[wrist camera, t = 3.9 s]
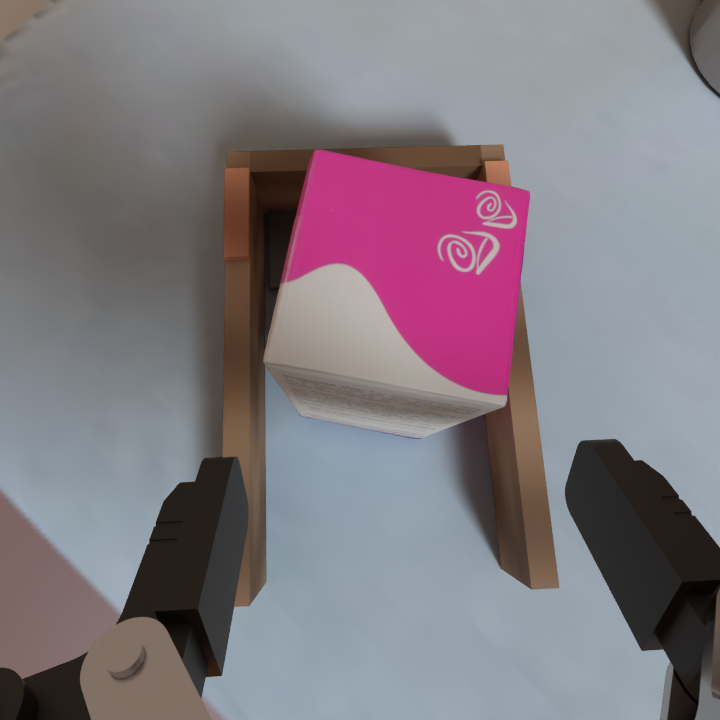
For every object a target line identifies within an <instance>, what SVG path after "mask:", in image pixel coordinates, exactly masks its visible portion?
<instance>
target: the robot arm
mask: <svg viewBox="0 0 720 720" xmlns="http://www.w3.org/2000/svg"><path fill="white" fill-rule="evenodd" d="M690 45H691V50H692V54H693V58H694V60H695V62H696V64H697V66H698V68H699V70H700V72H701V73H702V75H703V76H704V77H705V79H706V80H707V81H708V83H709V84H710V85H711V86H712V87H713V88H714V89H715V90H716V91H717V92H718V93H719V94H720V0H703V1H702V3H701V5H700V6H699V8H698V9H697V11H696V12H695V14H694V17H693V20H692V23H691V26H690ZM565 497H566V503H567V507H568V509H569V512H570V514H571V516H572V518H573V520H574V522H575V523H576V525H577V527H578V529H579V531H580V533H581V535H582V537H583V539H584V541H585V543H586V545H587V546H588V548H589V550H590V552H591V554H592V556H593V558H594V560H595V562H596V564H597V566H598V568H599V570H600V571H601V573H602V575H603V577H604V579H605V581H606V583H607V585H608V587H609V589H610V591H611V593H612V595H613V596H614V598H615V600H616V602H617V604H618V606H619V608H620V610H621V612H622V614H623V616H624V618H625V619H626V621H627V623H628V625H629V627H630V629H631V631H632V633H633V635H634V637H635V639H636V641H637V643H638V644H639V646H640V648H641V650H642V651H646V650H662V649H664V651H665V653H666V654H667V656H668V658H669V660H670V664H669V665H668V667H667V671H666V678H665V685H664V693H663V700H662V707H661V715H660V720H720V547H719V546H718V545H717V544H716V542H715V541H714V540H713V539H712V537H711V536H710V535H709V533H708V532H707V531H706V530H705V528H704V527H703V526H702V525H701V523H700V522H699V521H698V519H697V518H696V517H695V516H692V514H691V511H690V509H689V508H688V507H687V505H686V504H685V503H684V502H683V500H680V499H679V495H678V494H677V493H676V491H675V490H674V489H673V488H672V486H671V485H670V484H669V483H668V481H667V480H666V479H665V478H664V476H662V475H661V474H660V473H658V472H657V471H656V470H654V469H653V468H652V467H650V466H649V465H648V464H646V463H645V462H643V461H642V460H638V461H634V460H633V458H632V457H631V456H630V454H629V453H628V452H627V450H626V449H625V448H624V446H623V445H622V444H621V443H620V442H619V441H618V440H616V439H605V440H584V441H581V442H580V443H579V445H578V447H577V450H576V453H575V456H574V460H573V463H572V466H571V469H570V473H569V476H568V479H567V482H566V487H565ZM248 519H249V508H248V500H247V495H246V490H245V485H244V481H243V476H242V471H241V466H240V462H239V459H238V457H217V458H204V459H203V460H202V462H201V465H200V468H199V471H198V474H197V478H196V481H195V482H183V483H179V484H178V485H177V487H176V488H175V489H174V490H173V491H172V492H171V493H170V495H169V496H168V497H167V498H166V499H165V500H164V502H163V505H162V507H161V510H160V513H159V515H158V518H157V521H156V527H154V529H153V532H152V534H151V537H150V540H149V541H150V543H149V544H148V545H147V548H146V550H145V553H144V556H143V558H142V561H141V564H140V566H139V569H138V572H137V574H136V577H135V580H134V583H133V585H132V588H131V591H130V593H129V596H128V599H127V601H126V604H125V607H124V609H123V612H122V614H121V616H120V618H119V620H118V622H117V624H116V625H115V626H113V627H112V628H110V629H109V630H108V631H106V632H105V633H104V634H103V635H102V636H101V637H100V638H99V639H98V640H97V641H96V642H95V643H94V644H93V646H92V648H91V649H90V650H89V651H88V652H87V653H85V654H83V655H82V656H80V657H78V658H76V659H73V660H71V661H69V662H66V663H63V664H61V665H58V666H56V667H53V668H50V669H48V670H45V671H42V672H40V673H37V674H35V675H32V676H29V677H27V678H24V679H22V678H21V677H20V676H19V675H18V674H17V673H16V672H15V671H13V670H11V669H7V668H0V720H211V718H210V716H209V714H208V712H207V710H206V708H205V706H204V704H203V702H202V700H201V697H202V692H203V687H204V682H205V677H212V676H222V672H223V667H224V661H225V655H226V649H227V644H228V638H229V632H230V626H231V621H232V615H233V609H234V604H235V598H236V592H237V586H238V581H239V575H240V569H241V563H242V558H243V552H244V546H245V541H246V535H247V529H248Z"/></svg>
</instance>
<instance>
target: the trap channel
mask: <svg viewBox="0 0 720 720" xmlns="http://www.w3.org/2000/svg"><path fill="white" fill-rule="evenodd" d="M315 150H316V149H315ZM320 150H325V151H330V152H335V153H340V154H345V155H349V156H354V157H359V158H364V159H368V160H373V161H378V162H383V163H388V164H392V165H397V166H402V167H407V168H412V169H416V170H420V171H426V172H431V173H436V174H442V175H447V176H452V177H458V178H465V179H472V180H478V181H483V182H489V183H494V184H500V185H505V186H510V187H511V180H510V172H509V164H508V161H505V155H504V147H503V145H468V146H430V147H391V148H353V149H320ZM313 152H314V150H277V151H238V152H227V168H225V179H224V248H223V257H224V259H225V316H224V390H223V457H238V459H239V462H240V466H241V471H242V476H243V481H244V485H245V490H246V495H247V500H248V508H249V519H248V529H247V535H246V541H245V546H244V552H243V558H242V563H241V569H240V575H239V581H238V586H237V592H236V598H235V604H234V607H238V606H250V604H251V603H252V601H253V600H254V599H255V597H256V596H257V594H258V593H259V591H260V590H261V589H262V587H263V586H264V584H265V583H266V457H265V364H264V362H263V359H264V353H265V266H264V214H269V276H270V289H271V290H279V288H280V283H281V278H282V274H283V269H284V265H285V261H286V256H287V252H288V248H289V243H290V239H291V234H292V230H293V225H294V221H295V218H296V214H297V210H298V205H299V201H300V197H301V193H302V189H303V185H304V181H305V177H306V173H307V170H308V166H309V162H310V159H311V157H312V154H313ZM485 419H486V428H487V438H488V448H489V457H490V467H491V477H492V486H493V496H494V506H495V515H496V525H497V535H498V544H499V554H500V564H501V569H502V570H504V571H505V572H507V573H508V574H510V575H511V576H513V577H514V578H516V579H517V580H518V581H520V582H521V583H523V584H524V585H526V586H527V587H529V588H530V589H547V588H559V582H558V574H557V566H556V558H555V550H554V542H553V534H552V527H551V519H550V511H549V503H548V495H547V487H546V479H545V471H544V463H543V455H542V448H541V440H540V432H539V424H538V416H537V408H536V400H535V392H534V384H533V376H532V368H531V361H530V353H529V345H528V337H527V329H526V321H525V313H524V305H523V297H522V289H521V281H520V289H519V299H518V308H517V317H516V326H515V334H514V343H513V352H512V361H511V370H510V379H509V386H508V393H507V402H506V405H505V406H504V407H502V408H499V409H497V410H494V411H492V412H489V413H486V414H485Z"/></svg>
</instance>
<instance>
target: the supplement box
mask: <svg viewBox="0 0 720 720" xmlns="http://www.w3.org/2000/svg"><path fill="white" fill-rule="evenodd" d="M529 201H530V192H529V191H527V190H523V189H519V188H515V187H510V186H505V185H500V184H494V183H489V182H483V181H478V180H472V179H465V178H458V177H452V176H447V175H442V174H436V173H431V172H426V171H420V170H416V169H412V168H407V167H402V166H397V165H392V164H388V163H383V162H378V161H373V160H368V159H364V158H359V157H354V156H349V155H345V154H340V153H335V152H330V151H325V150H320V149H316V150H314V152H313V154H312V157H311V159H310V162H309V166H308V170H307V173H306V177H305V181H304V185H303V189H302V193H301V197H300V201H299V205H298V210H297V214H296V218H295V221H294V225H293V230H292V234H291V239H290V243H289V248H288V252H287V256H286V261H285V265H284V269H283V274H282V278H281V283H280V288H279V291H278V295H277V300H276V305H275V309H274V313H273V318H272V322H271V327H270V330H269V335H268V339H267V344H266V348H265V353H264V359H263V362H264V364H265V366H266V367H267V368H268V370H269V371H270V372H271V374H272V375H273V377H274V378H275V380H276V381H277V382H278V384H279V385H280V387H281V388H282V390H283V391H284V392H285V394H286V395H287V397H288V398H289V400H290V401H291V402H292V404H293V406H294V407H295V408H296V410H297V411H298V413H299V415H300V416H302V417H307V418H312V419H317V420H322V421H327V422H332V423H337V424H342V425H347V426H352V427H357V428H362V429H367V430H372V431H378V432H383V433H388V434H393V435H398V436H403V437H408V438H415V439H421V438H423V437H426V436H428V435H431V434H433V433H436V432H438V431H441V430H444V429H446V428H449V427H452V426H454V425H457V424H460V423H462V422H465V421H467V420H470V419H473V418H476V417H478V416H481V415H484V414H486V413H489V412H492V411H494V410H497V409H499V408H502V407H504V406H505V405H506V402H507V393H508V386H509V379H510V370H511V361H512V352H513V343H514V334H515V326H516V317H517V308H518V299H519V289H520V280H521V271H522V264H523V254H524V242H525V236H526V225H527V217H528V209H529Z"/></svg>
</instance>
